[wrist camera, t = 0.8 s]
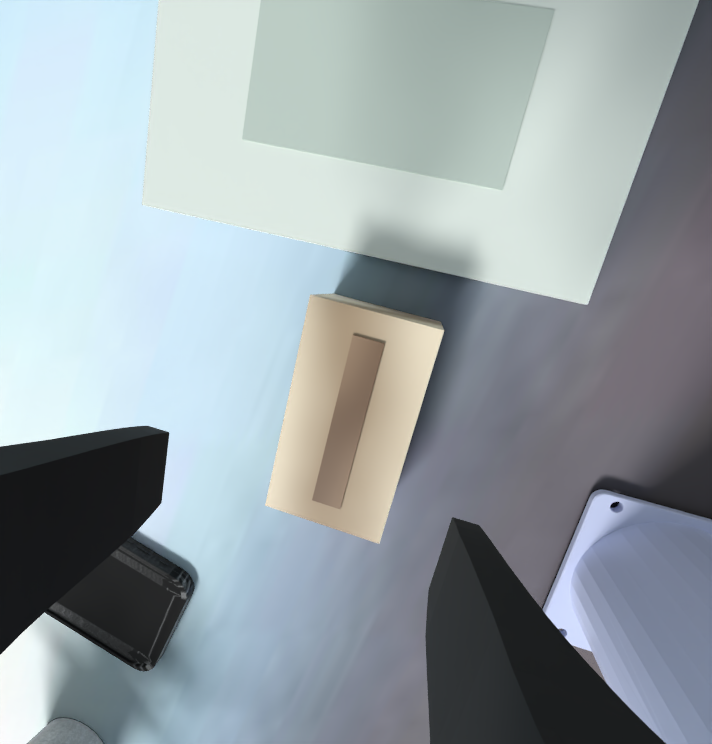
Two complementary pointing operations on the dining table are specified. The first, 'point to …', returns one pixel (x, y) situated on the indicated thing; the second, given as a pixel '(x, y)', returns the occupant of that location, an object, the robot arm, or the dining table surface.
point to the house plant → (66, 733)
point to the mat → (414, 126)
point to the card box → (351, 412)
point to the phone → (128, 604)
